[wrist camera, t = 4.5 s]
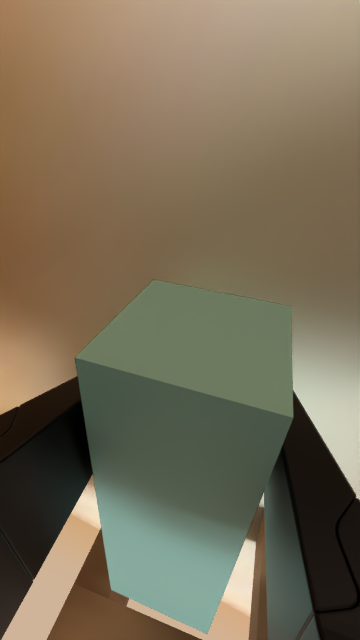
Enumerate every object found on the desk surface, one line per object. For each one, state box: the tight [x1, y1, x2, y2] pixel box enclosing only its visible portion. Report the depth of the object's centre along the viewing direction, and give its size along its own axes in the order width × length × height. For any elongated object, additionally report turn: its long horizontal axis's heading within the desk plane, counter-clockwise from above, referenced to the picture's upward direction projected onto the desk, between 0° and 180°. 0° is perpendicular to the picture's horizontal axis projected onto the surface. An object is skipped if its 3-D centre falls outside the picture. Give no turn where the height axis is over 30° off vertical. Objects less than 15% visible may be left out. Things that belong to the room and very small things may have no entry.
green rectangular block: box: [75, 280, 293, 634], centre depth 10 cm, size 4×12×4 cm, turn 176°
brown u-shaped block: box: [47, 509, 268, 640], centre depth 15 cm, size 10×4×8 cm, turn 91°
